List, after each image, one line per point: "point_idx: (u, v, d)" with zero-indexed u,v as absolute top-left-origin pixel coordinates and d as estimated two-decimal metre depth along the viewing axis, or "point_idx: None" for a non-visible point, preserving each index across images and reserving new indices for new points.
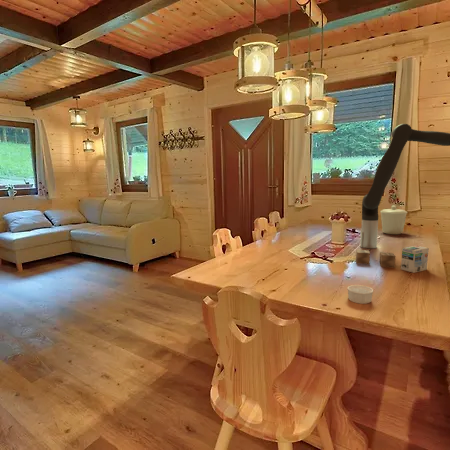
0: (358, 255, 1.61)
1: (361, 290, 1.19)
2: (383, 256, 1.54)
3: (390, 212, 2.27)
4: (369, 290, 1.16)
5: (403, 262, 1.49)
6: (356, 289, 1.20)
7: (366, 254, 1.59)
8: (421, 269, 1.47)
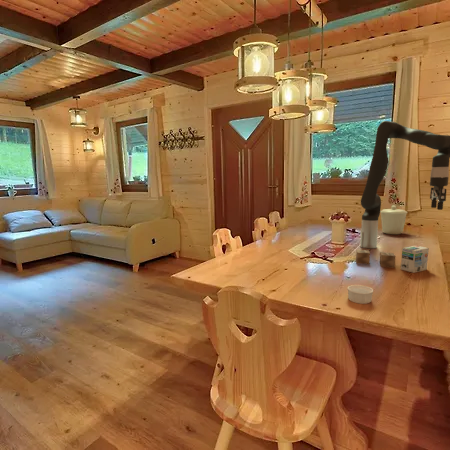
0: (358, 255, 1.61)
1: (361, 290, 1.19)
2: (383, 256, 1.54)
3: (390, 212, 2.27)
4: (369, 290, 1.16)
5: (403, 262, 1.49)
6: (356, 289, 1.20)
7: (366, 254, 1.59)
8: (421, 269, 1.47)
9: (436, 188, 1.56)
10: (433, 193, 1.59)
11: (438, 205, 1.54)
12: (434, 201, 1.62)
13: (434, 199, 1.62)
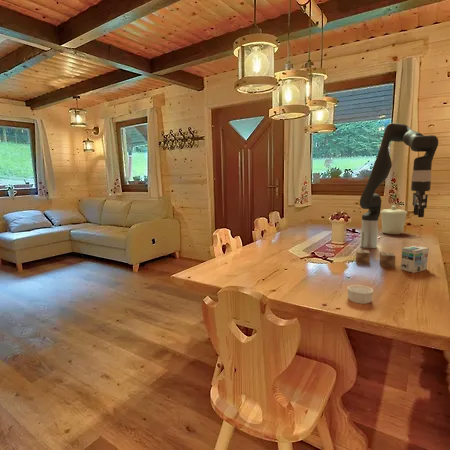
0: (358, 255, 1.61)
1: (361, 290, 1.19)
2: (383, 256, 1.54)
3: (390, 212, 2.27)
4: (369, 290, 1.16)
5: (403, 262, 1.49)
6: (356, 289, 1.20)
7: (366, 254, 1.59)
8: (421, 269, 1.47)
9: (417, 193, 1.44)
10: (415, 198, 1.46)
11: (419, 212, 1.42)
12: (416, 208, 1.49)
13: (416, 205, 1.49)
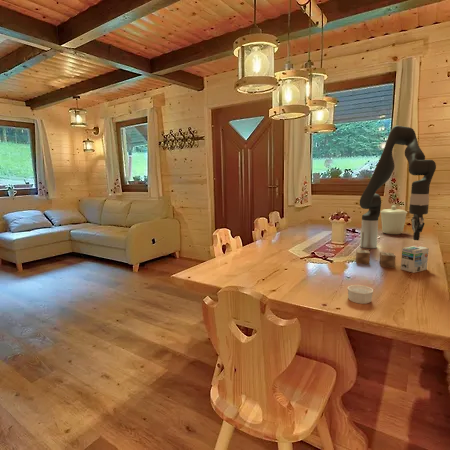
0: (358, 255, 1.61)
1: (361, 290, 1.19)
2: (383, 256, 1.54)
3: (390, 212, 2.27)
4: (369, 290, 1.16)
5: (403, 262, 1.49)
6: (356, 289, 1.20)
7: (366, 254, 1.59)
8: (421, 269, 1.47)
9: (415, 216, 1.45)
10: (413, 221, 1.47)
11: (414, 235, 1.47)
12: None
13: None
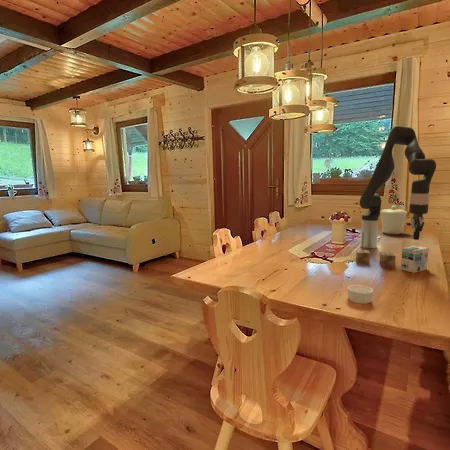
0: (358, 255, 1.61)
1: (361, 290, 1.19)
2: (383, 256, 1.54)
3: (390, 212, 2.27)
4: (369, 290, 1.16)
5: (403, 262, 1.49)
6: (356, 289, 1.20)
7: (366, 254, 1.59)
8: (421, 269, 1.47)
9: (415, 215, 1.45)
10: None
11: (414, 235, 1.47)
12: None
13: None
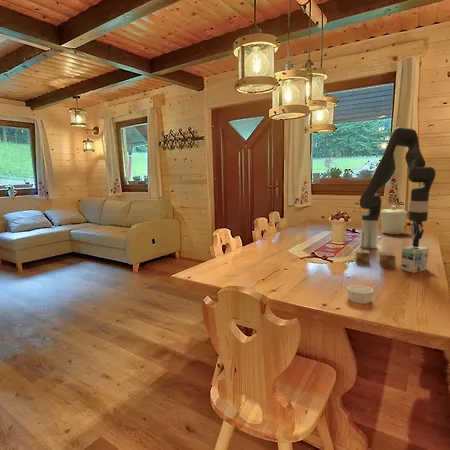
0: (358, 255, 1.61)
1: (361, 290, 1.19)
2: (383, 256, 1.54)
3: (390, 212, 2.27)
4: (369, 290, 1.16)
5: (403, 262, 1.49)
6: (356, 289, 1.20)
7: (366, 254, 1.59)
8: (421, 269, 1.47)
9: (415, 223, 1.46)
10: None
11: (414, 242, 1.48)
12: None
13: None
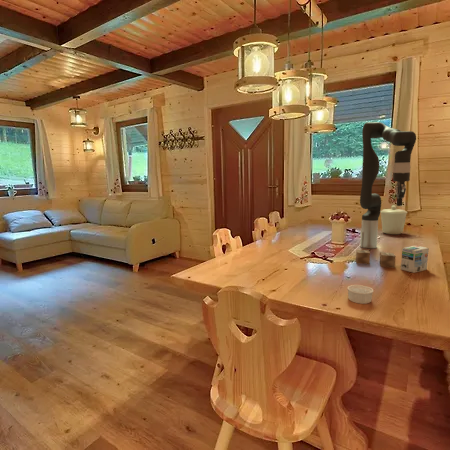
0: (358, 255, 1.61)
1: (361, 290, 1.19)
2: (383, 256, 1.54)
3: (390, 212, 2.27)
4: (369, 290, 1.16)
5: (403, 262, 1.49)
6: (356, 289, 1.20)
7: (366, 254, 1.59)
8: (421, 269, 1.47)
9: (398, 183, 1.60)
10: None
11: (397, 201, 1.61)
12: None
13: None
